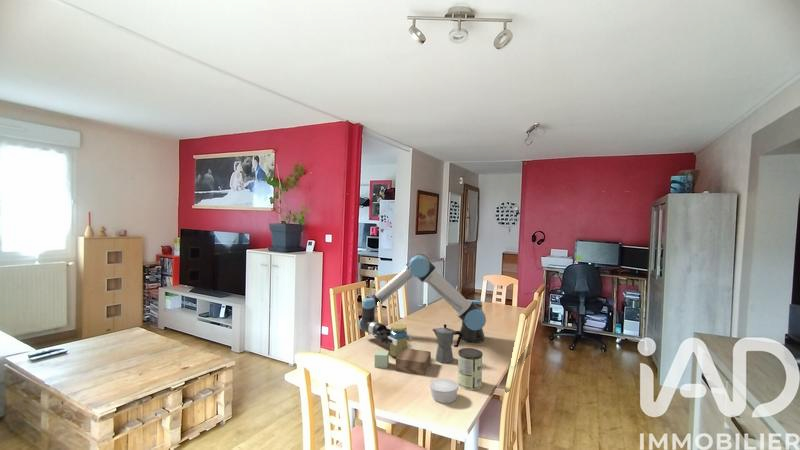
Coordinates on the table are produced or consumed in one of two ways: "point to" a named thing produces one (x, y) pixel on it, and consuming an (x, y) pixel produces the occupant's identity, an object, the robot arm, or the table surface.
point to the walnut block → (413, 361)
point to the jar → (398, 339)
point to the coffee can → (470, 368)
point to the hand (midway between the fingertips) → (404, 341)
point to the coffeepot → (445, 343)
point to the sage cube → (381, 359)
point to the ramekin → (444, 390)
